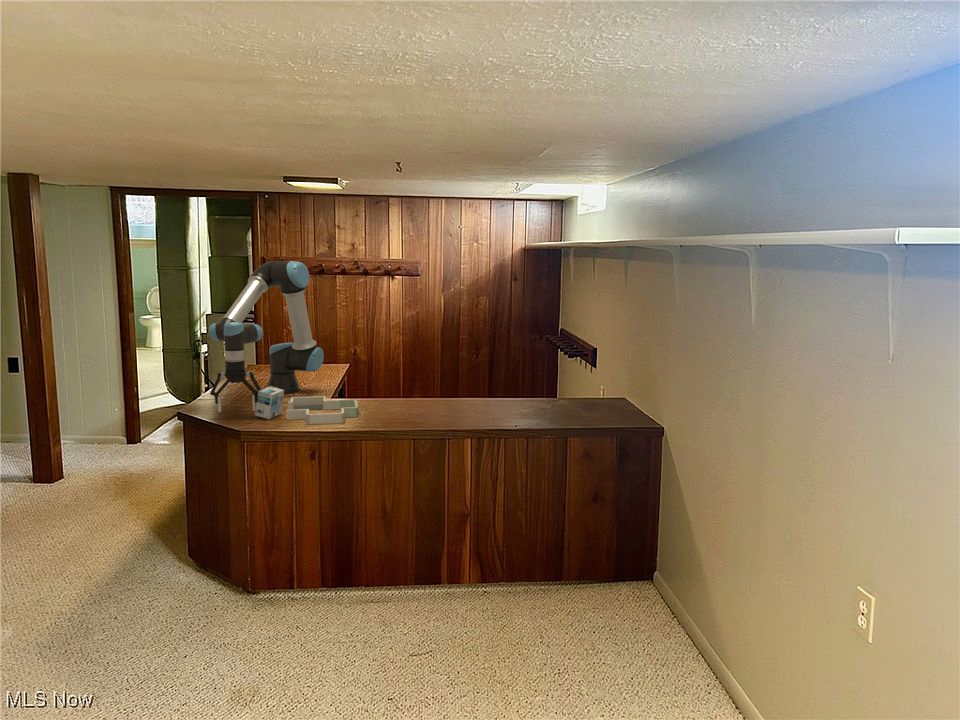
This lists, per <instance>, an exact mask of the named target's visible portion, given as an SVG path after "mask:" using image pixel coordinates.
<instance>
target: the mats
mask: <svg viewBox="0 0 960 720" xmlns="http://www.w3.org/2000/svg"><path fill="white" fill-rule="evenodd" d="M297 409H309V411H312V410H313V411H318V410H319V411H321V410H324V405H307V406H295V407H294V408H293V410H297Z"/></svg>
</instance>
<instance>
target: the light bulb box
mask: <svg viewBox="0 0 960 720" xmlns="http://www.w3.org/2000/svg"><path fill="white" fill-rule="evenodd" d="M284 395H285V393H284V390H282V389H279V388H275V387H272V386H270V387H268V388H267V387H265V388H262V389H261V390H260V391H259V392H258V399H257V403H256V405H255V409H256V410H255V411H254V412H255V413H254V415H255V416H256V417H260V418H262V419H263V418H264V419H267V420H270V419H272V418H274V417H277V416H279V415H280V414H281V413H282V406H283V402H284Z"/></svg>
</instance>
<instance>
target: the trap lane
mask: <svg viewBox="0 0 960 720" xmlns="http://www.w3.org/2000/svg"><path fill="white" fill-rule="evenodd" d="M307 405H323V410H324V411H329V410H331V409H337V410H340V412H332V413H330V412H329V413H310V410H309V409H297V410H294V408H295V407H294V406H307ZM293 407H294V408H293ZM285 414H286V420H287V421H295V420H296V421H297V420H306V421H305V422H306V425H324V424H326V425H327V424H328V425H329V424H330V425H331V424H345V422H346V421H345V419H346V418H358V417H359V406H358V402H357V398H356V399H354V398H353V399H330V400H329V399H328V400H327V396H326V395H321V396H319V395H318V396H317V395H315V396H294V397H293V396H292V397H290V400H289V401H288V402H287V409H286V413H285Z"/></svg>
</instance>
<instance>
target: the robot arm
mask: <svg viewBox="0 0 960 720" xmlns="http://www.w3.org/2000/svg"><path fill="white" fill-rule="evenodd" d="M309 283H310V272H309V270H308V267H307V266H306V264H304V263H303V262H300V261H295V260H288V261H287V260H271V261H267V262H264V263H263V264H261V265H260V266H259V267H257V268H256V269H255V270H254V271H253V273H251V274H250V276H249V277H248V279H247V284H246V285H245V287H244V288H243V290H242V291H241V292H240V294H239V295H238V296H237V298H236V299H235V300H234V302H233V303H232V305H231V306H230V308H229V309H228V310H227V311H226V313H225V315H224V316H223V317H222V319H221V321H220V322H216V323H215V322H214V323H212V324H210V326H209V328H208V336H209V338H210V339H211V340H213V341H217V342H224V359H225V362H224V365H225V366H224V367H225V372H221V371H219V372H218V373H217V377H216V380H215V382H214V384H213V385H212V388H211V391H210V393H209V395H210V396H213V397H214V404H215V405H217V409H218V413H221V412H222V398H221V392H222V391H223V390H224V389H225V388H226V387H227V385H228V384H229V383H231V384H235V383H236V384H240V383H242V384H243V385H245V387H246V388H247V389H248V390H250V392H251V393H252V412H256V404H257V399H258V392H259V391H260V390H262V388H261V386H260V384H259V383H258V380H257V379H256V377H255V375H254V371H252V370H251V371H246V366H245V364H246V363H245V362H246V361H245V345H246V344H252V343H253V344H255V343H256V342H259V341H261V339H262V338H263V337H264V336H263V335H264V332H263V328H262V327H261V326H260V325H259V324H256V323H255V324H252V323H250V324H243V321H245V319H246V318H247V316H248V314H249V313H250V312H251V311H252V309H253V307H254V305H255V304H256V303H257V302H258V301H259V299H260V297H261V296H262V295H263V293H266V292H267V291H269V289H270V288H272V287H278V288H279V290H280V293H281V295H283V296H284V299H285V303H286V308H287V313H288V318H289V324H290V329H291V333H292V338H293V342H282V343H277V344H273V345H270V346H269V354H268V356H269V373H270V375H269V379H268V383H267V384H266V385H267V386H266V388H268V387H270V386H272V387H275V388H279V389H282V390H284V394H289V393H295V392H298V391H299V390H300V383H299V381H298V379H297V376H296V371H300V372H308V373H310V372H317V371H319V370H320V369H321V367H322V365H323V362H324V357H325V356H324V355H325V353H324V350H323V348H322V347H320V346H319V347H318V344H317V341H316V340H314V339H313V336H312V335H313V334H312V329H311V325H310V320H309V315H308V308H307V303H306V299H305V293H304V292H305V291H306V289H307V287H308V285H309ZM246 376H247V377H248V378H250V380H251V382H252V384H253V385H254V387H255V388H254V387H253V386H252V384H251V383H250V382H249V381H248V380H247V379H246V378H245V377H246ZM224 377H225V379H226V380H225V382H223V384H222V385H221V387H219V388H218V385H219V383H220V382H221V379H222V378H224ZM217 388H218V390H217V391H216V389H217Z"/></svg>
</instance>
